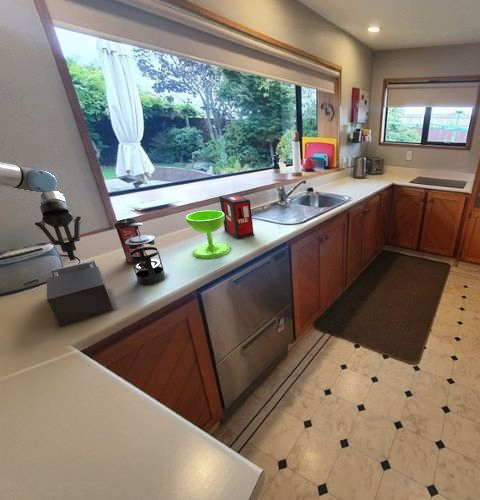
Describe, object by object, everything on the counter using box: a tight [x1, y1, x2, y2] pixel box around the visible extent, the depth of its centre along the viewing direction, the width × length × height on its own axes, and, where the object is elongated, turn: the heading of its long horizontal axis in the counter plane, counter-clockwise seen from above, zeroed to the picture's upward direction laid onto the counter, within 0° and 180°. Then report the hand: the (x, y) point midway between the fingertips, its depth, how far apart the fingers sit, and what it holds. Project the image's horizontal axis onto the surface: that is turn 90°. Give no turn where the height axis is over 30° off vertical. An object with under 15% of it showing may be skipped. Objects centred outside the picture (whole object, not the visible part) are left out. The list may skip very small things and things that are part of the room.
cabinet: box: [46, 265, 115, 327], centre depth 91 cm, size 16×13×10 cm
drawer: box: [50, 259, 97, 277], centre depth 98 cm, size 16×12×8 cm
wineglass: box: [185, 209, 231, 259], centre depth 131 cm, size 16×16×18 cm
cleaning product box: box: [218, 193, 255, 240], centre depth 153 cm, size 16×9×20 cm, turn 46°
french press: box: [125, 222, 167, 286], centre depth 106 cm, size 12×9×23 cm
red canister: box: [114, 218, 148, 264], centre depth 121 cm, size 8×8×18 cm
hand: (72, 258), depth 105 cm, fingers closed
